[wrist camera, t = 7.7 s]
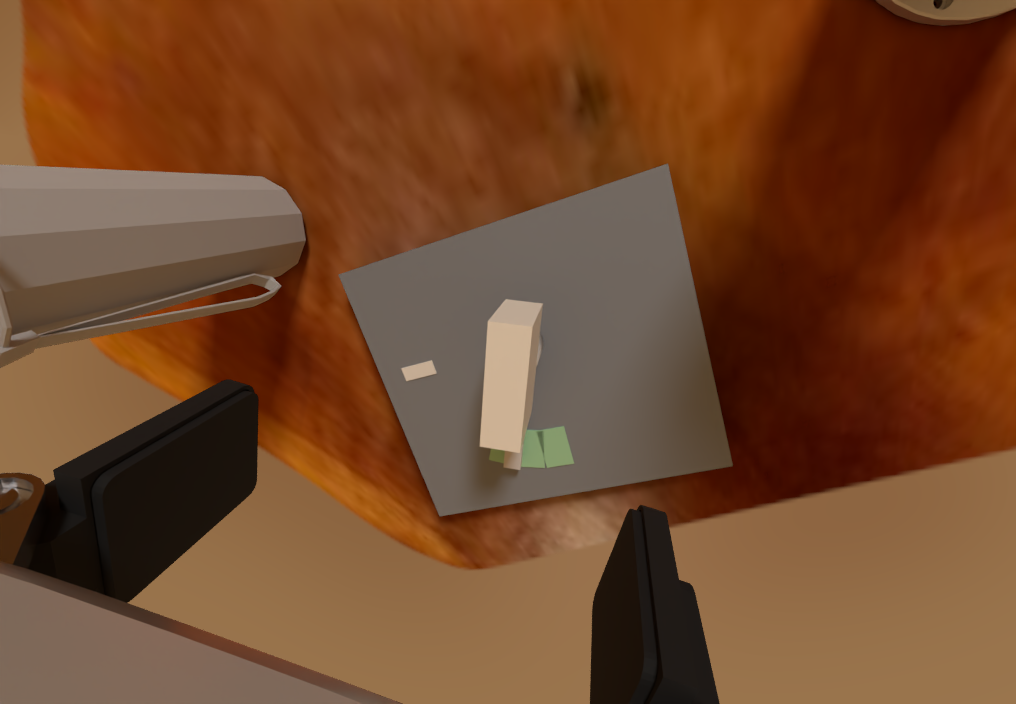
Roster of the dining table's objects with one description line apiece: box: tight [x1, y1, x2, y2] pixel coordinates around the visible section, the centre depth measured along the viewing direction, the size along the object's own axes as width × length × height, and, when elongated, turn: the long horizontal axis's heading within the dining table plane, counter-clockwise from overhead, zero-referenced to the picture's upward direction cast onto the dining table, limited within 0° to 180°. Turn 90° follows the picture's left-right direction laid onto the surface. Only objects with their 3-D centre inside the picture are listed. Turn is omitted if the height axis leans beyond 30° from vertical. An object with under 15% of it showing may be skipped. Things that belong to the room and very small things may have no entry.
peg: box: [480, 299, 544, 470], centre depth 28 cm, size 12×2×8 cm, turn 175°
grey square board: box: [339, 164, 733, 516], centre depth 33 cm, size 22×20×3 cm
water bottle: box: [0, 165, 306, 368], centre depth 23 cm, size 9×8×25 cm
